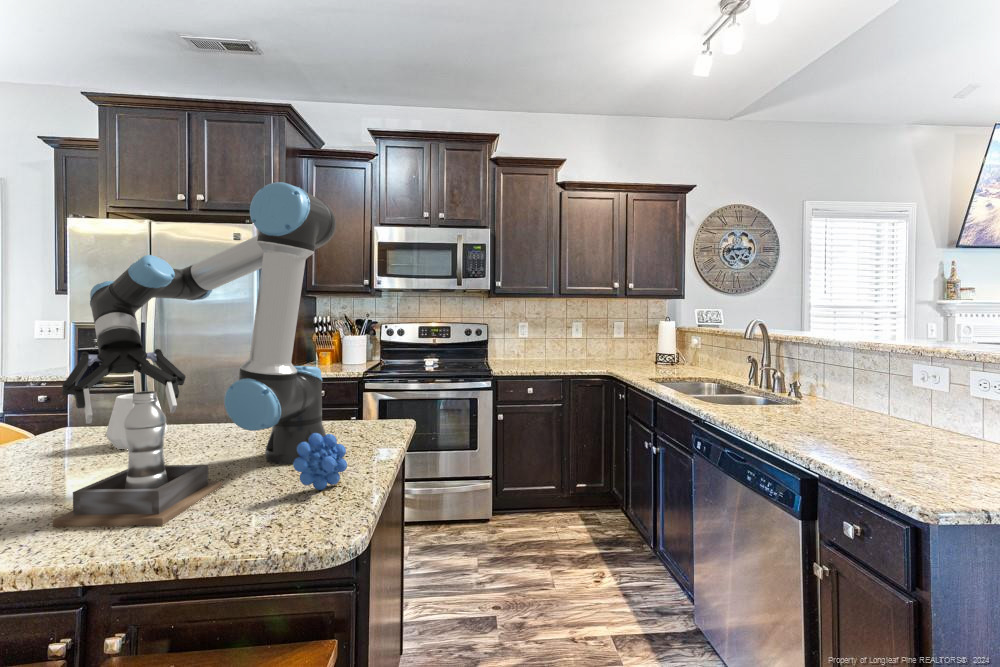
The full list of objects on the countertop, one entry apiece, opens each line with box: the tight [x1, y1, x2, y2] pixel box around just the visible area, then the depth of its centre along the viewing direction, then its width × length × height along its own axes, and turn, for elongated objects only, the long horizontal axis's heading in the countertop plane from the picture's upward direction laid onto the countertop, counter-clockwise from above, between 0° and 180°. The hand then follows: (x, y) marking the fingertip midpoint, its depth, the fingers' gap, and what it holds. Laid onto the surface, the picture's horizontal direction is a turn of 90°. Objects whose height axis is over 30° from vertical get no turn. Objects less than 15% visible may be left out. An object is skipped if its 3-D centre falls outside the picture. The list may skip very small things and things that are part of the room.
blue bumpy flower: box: [292, 433, 348, 491], centre depth 94 cm, size 12×7×12 cm, turn 141°
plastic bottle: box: [124, 390, 168, 489], centre depth 87 cm, size 6×7×20 cm
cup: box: [105, 393, 168, 450], centre depth 128 cm, size 13×13×14 cm
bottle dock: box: [52, 464, 223, 528], centre depth 87 cm, size 18×18×5 cm
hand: (134, 414), depth 94 cm, fingers open, 13 cm apart
